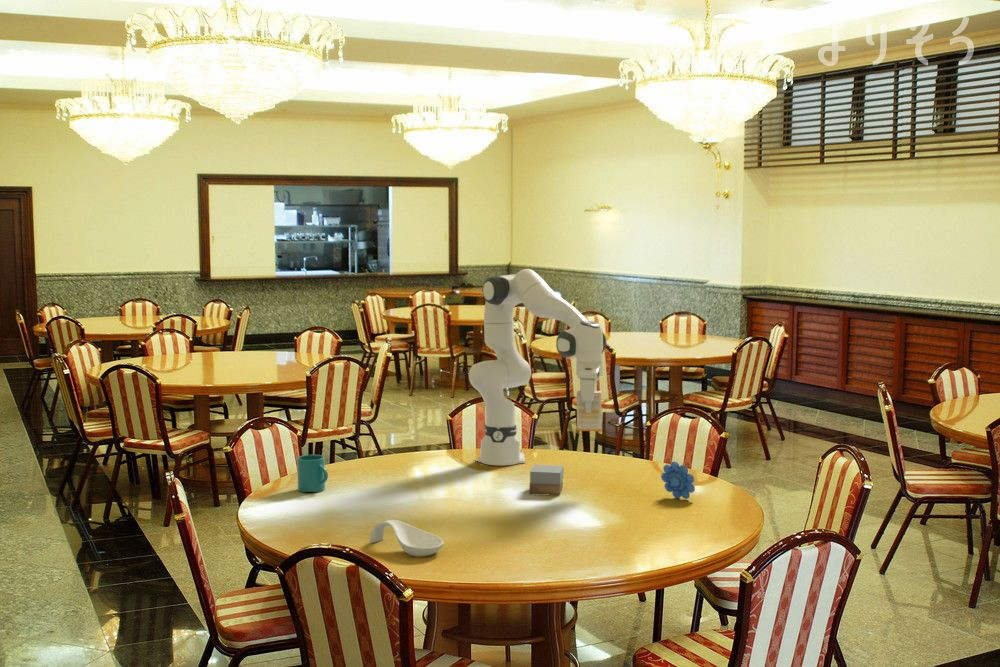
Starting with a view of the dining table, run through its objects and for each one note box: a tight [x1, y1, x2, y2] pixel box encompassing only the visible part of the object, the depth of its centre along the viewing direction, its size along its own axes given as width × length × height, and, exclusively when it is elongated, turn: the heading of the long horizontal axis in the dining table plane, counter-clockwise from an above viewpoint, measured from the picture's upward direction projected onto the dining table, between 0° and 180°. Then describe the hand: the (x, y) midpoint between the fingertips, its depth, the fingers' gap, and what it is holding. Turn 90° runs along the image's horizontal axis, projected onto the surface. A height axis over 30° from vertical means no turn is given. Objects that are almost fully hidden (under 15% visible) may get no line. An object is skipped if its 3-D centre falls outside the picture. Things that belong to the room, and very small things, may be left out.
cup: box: [296, 454, 329, 493], centre depth 336 cm, size 9×12×11 cm
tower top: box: [529, 464, 565, 485], centre depth 335 cm, size 10×10×4 cm
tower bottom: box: [529, 479, 564, 496], centre depth 335 cm, size 10×10×4 cm
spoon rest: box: [369, 519, 445, 558], centre depth 273 cm, size 24×12×7 cm, turn 52°
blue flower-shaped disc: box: [660, 461, 696, 499], centre depth 324 cm, size 12×7×12 cm, turn 58°
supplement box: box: [576, 390, 603, 432], centre depth 336 cm, size 8×5×13 cm, turn 82°
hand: (589, 411), depth 336 cm, fingers closed on supplement box, 5 cm apart
